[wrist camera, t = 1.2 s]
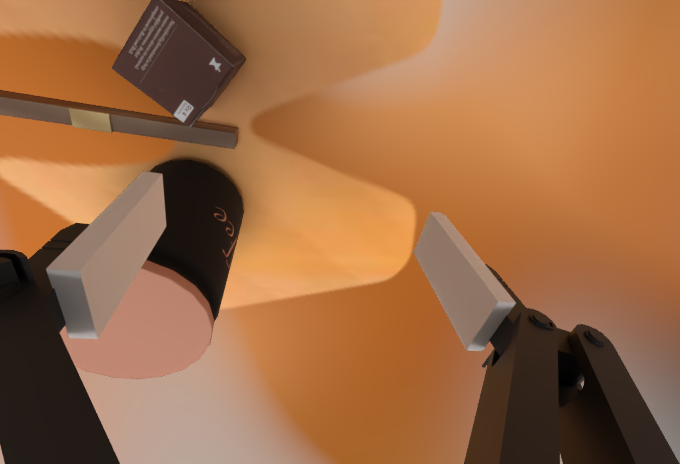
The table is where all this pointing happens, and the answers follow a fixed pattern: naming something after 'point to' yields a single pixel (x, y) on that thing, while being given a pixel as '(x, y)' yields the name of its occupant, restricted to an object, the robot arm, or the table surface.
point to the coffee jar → (172, 282)
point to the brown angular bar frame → (114, 120)
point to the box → (178, 59)
